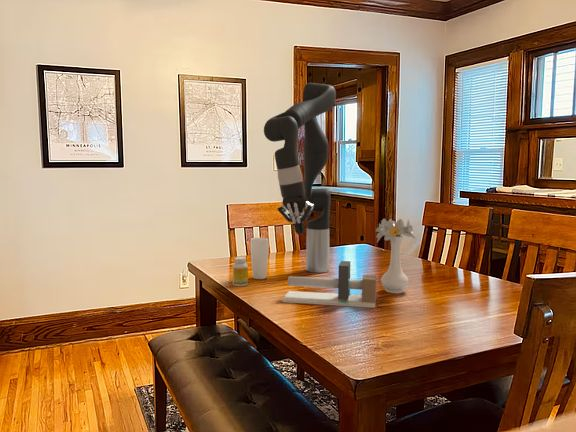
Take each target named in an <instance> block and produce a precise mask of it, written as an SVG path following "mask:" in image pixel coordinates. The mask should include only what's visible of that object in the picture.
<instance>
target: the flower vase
mask: <svg viewBox="0 0 576 432" xmlns="http://www.w3.org/2000/svg"><path fill="white" fill-rule="evenodd" d="M406 223H407V224H404V221H403V219H401V218H399V219H398V220H397V221H395V220H393V219H392V218H390V219H388V220H387V219H385V218H383V219H382V220H380V223H379V224H378V227H376V228H375V232H378V233H377V234H376V236H375V237H376V239H377V240H376V243H379V241H380V240H381V238H382V237H384V239H383V240H384V241H390V247H391V248H390V263H389V266H388V269H387V271H386V272H385V273H384V274H383V275H382V276H381V279H380V283H381V285H382V287H383V288H385V292H387V293H389V294H403V293H404V292H405V289H406V288H408V286H409V284H410V283H409V282H410V280H409V277H408V276H407V275H406V274H405V273H404V271H403V269H402V266H401V245H402V242H403V241H402V240H403V238H404V236H405V237H407V238H410V237H411V238H412V239H413V240H415V241H417V239H416V237H415V236H414V233H415V231H414V229H413V226H412V225H410V220H409V219H407V222H406Z"/></svg>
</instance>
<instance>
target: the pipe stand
mask: <svg viewBox="0 0 576 432" xmlns="http://www.w3.org/2000/svg"><path fill="white" fill-rule="evenodd" d="M287 285H288V286H289V287H306V288H309V287H310V288H322V289H324V288H325V289H338V278H333V277H332V278H329V277H314V276H313V277H312V276H311V277H309V276H290V275H289V276H288V278H287ZM288 286H287V287H288ZM348 290H350V291H351V290H359V291H361V294H353V293H352V294H351V293H350V294H349V298H348V300H345V299H338V293H333V292H331V293H330V292H313V291H297V290H289V291H288V292H287V293H286V294H285V295H284V297H283V298H282V299H281V302H282V303H289V304H291V303H292V304H309V305H322V306H323V305H325V306H342V307H352V308H353V307H356V308H372V309H373V308H374V309H375V308H376V301H377V299H376V298H377V275H373V274H371V275H370V274H363V276H362V279H351V278H350V279H349V286H348Z"/></svg>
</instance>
